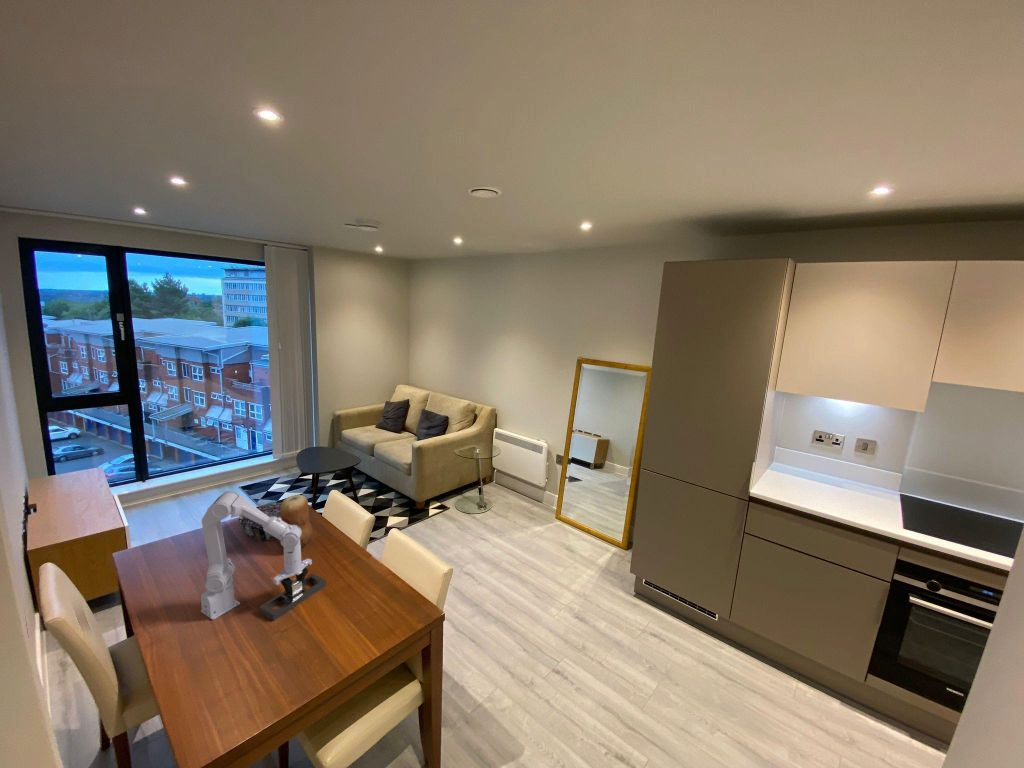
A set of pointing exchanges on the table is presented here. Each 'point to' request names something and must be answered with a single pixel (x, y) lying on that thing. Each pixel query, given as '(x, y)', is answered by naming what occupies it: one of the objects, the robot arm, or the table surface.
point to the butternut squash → (297, 516)
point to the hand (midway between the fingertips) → (294, 590)
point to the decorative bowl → (256, 529)
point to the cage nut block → (295, 588)
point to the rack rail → (289, 603)
